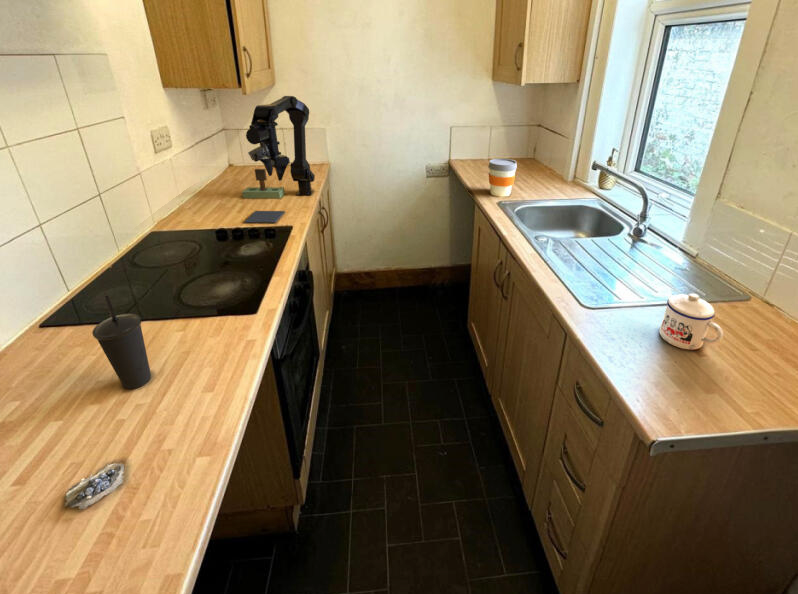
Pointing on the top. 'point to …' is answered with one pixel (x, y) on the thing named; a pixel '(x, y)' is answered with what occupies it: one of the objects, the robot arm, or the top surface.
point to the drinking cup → (124, 347)
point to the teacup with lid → (688, 322)
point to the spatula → (261, 178)
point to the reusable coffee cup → (501, 176)
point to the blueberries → (95, 486)
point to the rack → (263, 192)
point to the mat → (264, 217)
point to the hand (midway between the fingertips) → (275, 178)
